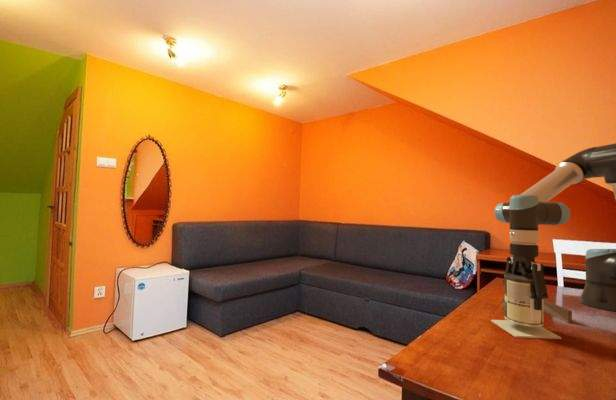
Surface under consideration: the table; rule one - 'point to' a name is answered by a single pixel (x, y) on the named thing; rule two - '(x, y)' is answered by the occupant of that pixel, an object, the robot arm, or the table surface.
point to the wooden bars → (553, 311)
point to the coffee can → (519, 301)
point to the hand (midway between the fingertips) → (523, 313)
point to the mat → (525, 330)
